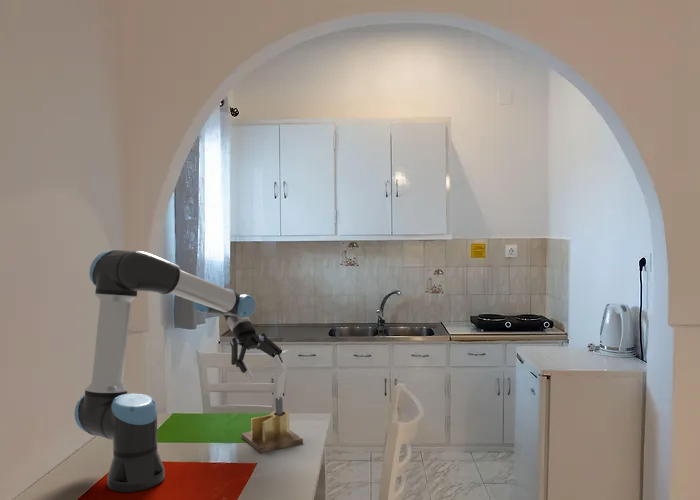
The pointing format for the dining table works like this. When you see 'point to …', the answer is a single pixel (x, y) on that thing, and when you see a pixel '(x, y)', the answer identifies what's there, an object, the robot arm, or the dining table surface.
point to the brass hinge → (270, 426)
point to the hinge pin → (279, 406)
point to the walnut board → (272, 442)
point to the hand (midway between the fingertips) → (267, 375)
